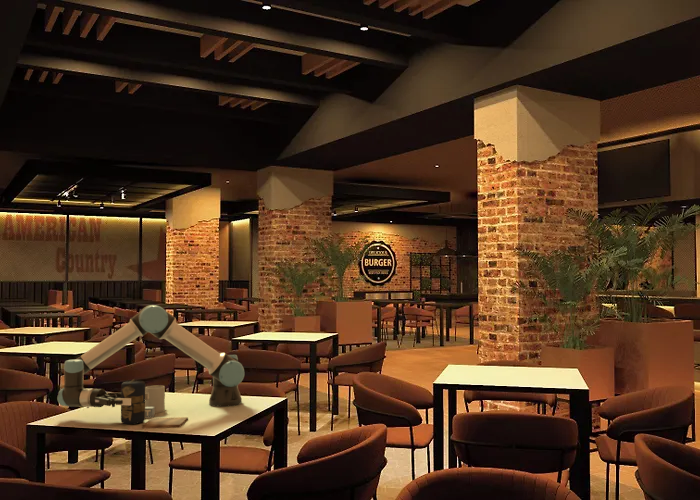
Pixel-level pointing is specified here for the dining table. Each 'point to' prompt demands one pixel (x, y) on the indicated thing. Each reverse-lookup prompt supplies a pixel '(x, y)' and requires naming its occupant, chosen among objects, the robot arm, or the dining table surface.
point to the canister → (133, 402)
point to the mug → (156, 397)
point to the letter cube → (149, 412)
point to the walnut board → (165, 422)
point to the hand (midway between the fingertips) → (139, 399)
